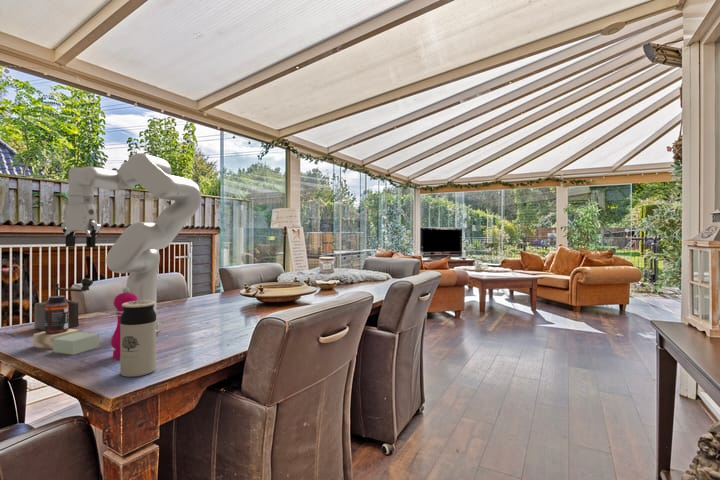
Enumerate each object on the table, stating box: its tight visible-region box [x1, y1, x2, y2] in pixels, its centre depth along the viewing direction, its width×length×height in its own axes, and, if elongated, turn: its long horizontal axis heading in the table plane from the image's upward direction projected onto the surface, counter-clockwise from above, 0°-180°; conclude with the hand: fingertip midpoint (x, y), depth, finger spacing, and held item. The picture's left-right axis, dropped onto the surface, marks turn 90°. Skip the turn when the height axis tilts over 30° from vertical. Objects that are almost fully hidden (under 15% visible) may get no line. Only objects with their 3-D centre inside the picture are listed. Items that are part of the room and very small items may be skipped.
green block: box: [52, 331, 100, 356], centre depth 115 cm, size 8×8×4 cm
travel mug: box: [119, 300, 157, 378], centre depth 97 cm, size 8×8×18 cm
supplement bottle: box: [45, 295, 70, 334], centre depth 120 cm, size 6×6×11 cm
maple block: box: [33, 328, 80, 350], centre depth 120 cm, size 8×8×4 cm
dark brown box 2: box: [33, 277, 94, 332], centre depth 143 cm, size 16×11×18 cm
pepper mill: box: [110, 287, 138, 360], centre depth 110 cm, size 7×7×20 cm
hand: (80, 246), depth 141 cm, fingers open, 9 cm apart
